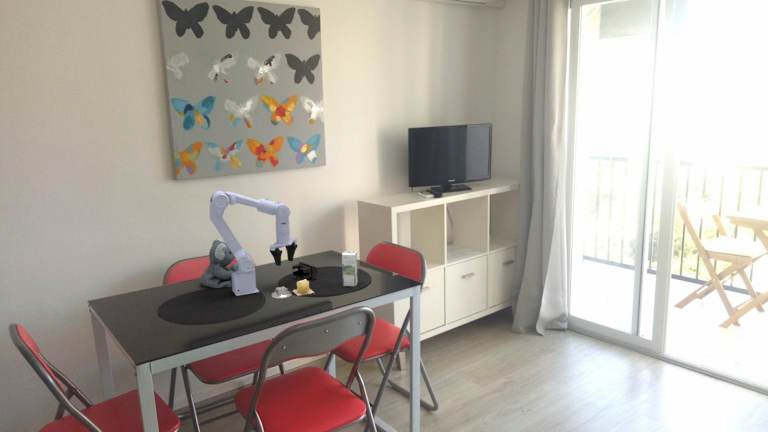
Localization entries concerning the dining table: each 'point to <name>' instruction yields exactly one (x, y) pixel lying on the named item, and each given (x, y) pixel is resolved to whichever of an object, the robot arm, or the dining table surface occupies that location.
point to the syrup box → (349, 268)
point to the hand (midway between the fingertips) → (284, 263)
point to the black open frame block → (304, 271)
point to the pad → (302, 293)
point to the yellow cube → (303, 286)
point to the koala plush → (219, 266)
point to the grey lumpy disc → (281, 293)
